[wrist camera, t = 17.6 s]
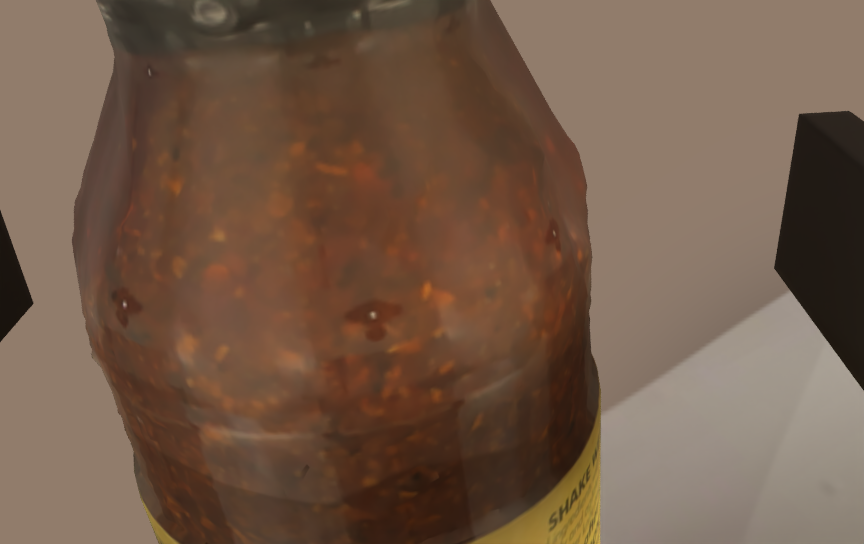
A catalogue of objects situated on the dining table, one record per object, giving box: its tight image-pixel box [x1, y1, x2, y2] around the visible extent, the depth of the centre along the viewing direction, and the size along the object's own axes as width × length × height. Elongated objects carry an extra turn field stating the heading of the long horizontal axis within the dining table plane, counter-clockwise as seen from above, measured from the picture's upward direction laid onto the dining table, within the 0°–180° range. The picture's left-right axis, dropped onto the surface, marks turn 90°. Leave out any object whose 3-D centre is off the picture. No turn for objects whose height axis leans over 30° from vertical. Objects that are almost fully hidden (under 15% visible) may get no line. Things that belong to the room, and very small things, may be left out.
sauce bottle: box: [72, 0, 601, 544], centre depth 11 cm, size 6×6×20 cm
